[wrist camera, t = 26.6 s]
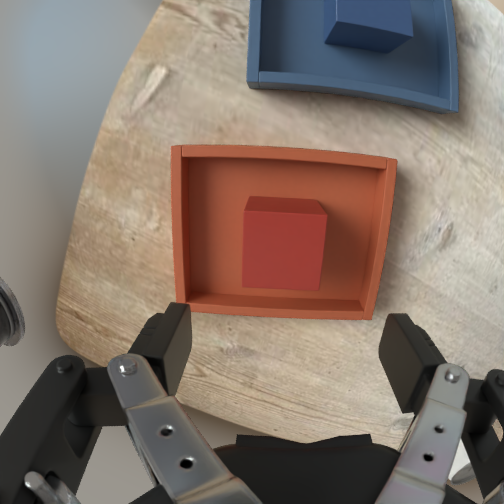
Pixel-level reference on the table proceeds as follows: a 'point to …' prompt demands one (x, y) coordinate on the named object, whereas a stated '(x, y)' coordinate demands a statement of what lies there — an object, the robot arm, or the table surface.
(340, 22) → the blue block
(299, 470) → the robot arm
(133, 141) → the table surface
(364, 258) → the orange tray
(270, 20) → the blue tray
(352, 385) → the table surface
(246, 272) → the red block
